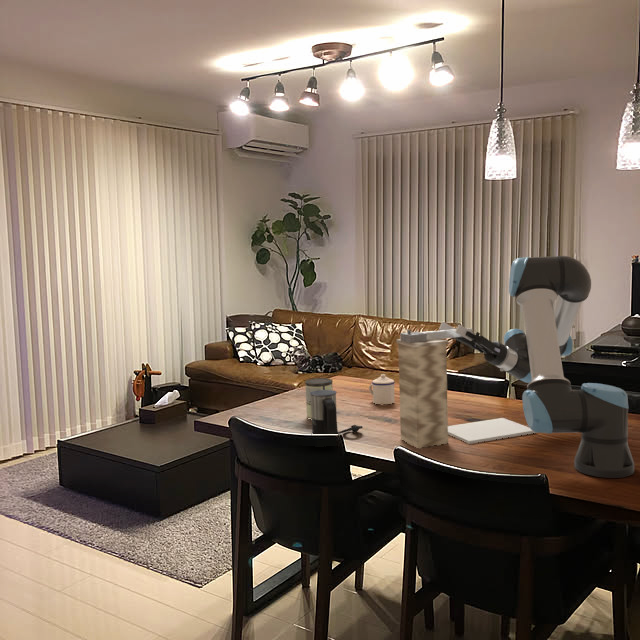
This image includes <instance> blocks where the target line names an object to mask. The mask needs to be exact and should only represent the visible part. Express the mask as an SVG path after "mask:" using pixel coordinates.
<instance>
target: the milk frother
mask: <svg viewBox="0 0 640 640" xmlns="http://www.w3.org/2000/svg"><path fill="white" fill-rule="evenodd" d="M310 395H311V414H312V420H311V434H312V433H313V434H338V435H339V434H345V433H347V432H351V431H354V432H356V431H358V432H359V430H360V429H364V428H363V425H356V424H353V425H351V426H350V427H349V428H346V429H343V430H341V431H338V416H337V415H338V414H337V413H338V412H337V391H336V390H317V391H312V392H310ZM356 433H357V432H356Z"/></svg>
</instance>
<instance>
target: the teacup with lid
mask: <svg viewBox="0 0 640 640" xmlns="http://www.w3.org/2000/svg"><path fill="white" fill-rule="evenodd" d="M368 390H369V394H370V395H371V396H372V403H373V404H374V403H375V404H374V405H376V404H391V405H393V404H392V403H394V404H395V399H396V398H395V380H394V379H392V378H390V377H388V376H387V375H386V374H385V373H382V374H380V376H378V377H377V378H376V379H373V380H372V382H371V384H369V386H368Z"/></svg>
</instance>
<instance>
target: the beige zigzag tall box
mask: <svg viewBox="0 0 640 640" xmlns="http://www.w3.org/2000/svg"><path fill="white" fill-rule="evenodd" d="M395 343H396V344H398V346H397V348H398V377H399V378H398V381H399V382H398V384H399V386H398V387H399V414H400V415H399V417H400V418H399V421H400V424H399V425H400V440H401V439H403V440H404V441H405V442H404V441H403V442H404V443H406V442H407V443H406V444H408V445H410V446H411V447H413V446H414V448H415V447H416V448H415V449H417V448H419V449H423V448H422V447H425V448H429V447H428V446H431V447H435V446H434V445H437V446H442V445H441V444H444V445H448V444H449V435H448V426H449V422H448V421H449V419H448V417H449V416H448V415H449V414H448V369H447V368H448V363H447V362H448V361H447V360H448V359H447V345H449V343H450V341H449V340H447V339H435V340H427V341H425V342H415V343H408V342H404V341H401V339H395ZM447 443H448V444H447Z"/></svg>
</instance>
